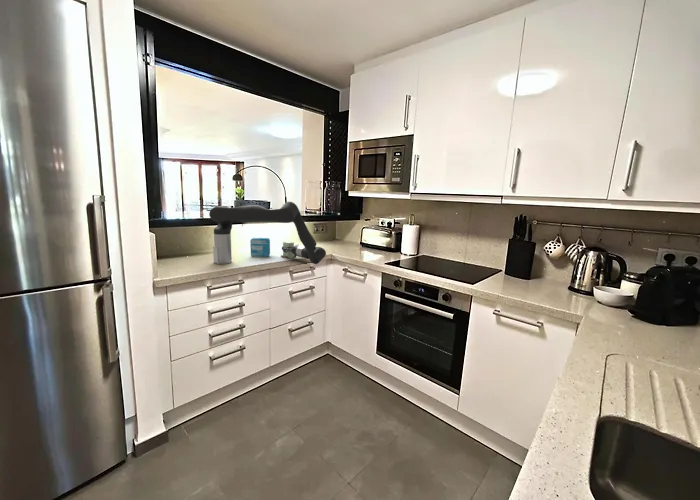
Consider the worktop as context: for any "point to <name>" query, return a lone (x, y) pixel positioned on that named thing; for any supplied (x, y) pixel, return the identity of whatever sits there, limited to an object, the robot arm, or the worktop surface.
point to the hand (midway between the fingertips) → (286, 247)
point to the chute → (286, 256)
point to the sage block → (289, 244)
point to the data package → (260, 247)
